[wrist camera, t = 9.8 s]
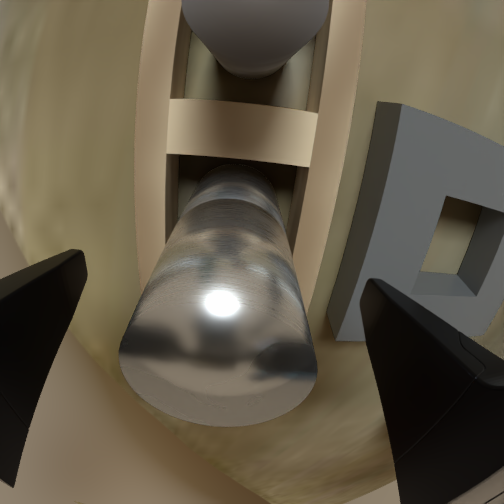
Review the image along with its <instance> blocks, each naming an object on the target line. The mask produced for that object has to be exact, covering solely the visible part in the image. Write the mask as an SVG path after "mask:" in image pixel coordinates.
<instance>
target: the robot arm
mask: <svg viewBox="0 0 504 504" xmlns="http://www.w3.org/2000/svg"><path fill="white" fill-rule="evenodd" d="M87 276H88V274H87V267H86V261H85V256H84V253H83V251H82V250H77V249H70V250H68V251H65V252H63V253H60V254H58V255H55V256H53V257H50V258H48V259H46V260H43V261H41V262H38V263H36V264H34V265H31V266H29V267H27V268H25V269H22V270H20V271H18V272H15V273H13V274H11V275H9V276H7V277H5V278H2V279H0V481H2V482H3V483H5V484H7V485H8V486H10V487H12V488H14V485H15V481H16V476H17V472H18V468H19V464H20V460H21V456H22V452H23V448H24V445H25V441H26V438H27V434H28V431H29V429H28V428H29V427H30V424H31V421H32V418H33V415H34V412H35V409H36V406H37V403H38V400H39V397H40V395H41V392H42V389H43V386H44V384H45V381H46V378H47V376H48V373H49V371H50V368H51V366H52V363H53V361H54V358H55V356H56V354H57V351H58V349H59V346H60V344H61V342H62V340H63V338H64V335H65V333H66V331H67V329H68V327H69V325H70V322H71V320H72V318H73V315H74V313H75V310H76V307H77V305H78V302H79V299H80V296H81V294H82V291H83V288H84V286H85V283H86V281H87ZM359 306H360V312H361V317H362V323H363V329H364V334H365V340H366V345H367V349H368V353H369V357H370V360H371V364H372V368H373V371H374V375H375V379H376V383H377V387H378V391H379V395H380V399H381V403H382V408H383V412H384V416H385V421H386V425H387V430H388V435H389V439H390V444H391V449H392V454H393V460H394V463H395V464H394V466H395V472H396V477H397V483H398V490H399V496H400V502H401V504H504V360H503V359H501V358H500V357H498V356H496V355H495V354H493V353H492V352H490V351H488V350H487V349H485V348H484V347H482V346H481V345H479V344H478V343H476V342H475V341H473V340H472V339H470V338H469V337H467V336H466V335H464V334H463V333H462V332H460V331H458V330H457V329H456V328H454V327H453V326H451V325H450V324H448V323H447V322H446V321H444V320H443V319H441V318H440V317H438V316H437V315H435V314H434V313H432V312H431V311H429V310H428V309H426V308H425V307H423V306H422V305H420V304H419V303H417V302H416V301H414V300H413V299H411V298H410V297H408V296H407V295H405V294H404V293H402V292H400V291H399V290H397V289H396V288H394V287H393V286H391V285H390V284H388V283H386V282H385V281H383V280H382V279H379V278H369V279H368V280H367V282H366V284H365V287H364V290H363V292H362V295H361V298H360V302H359Z"/></svg>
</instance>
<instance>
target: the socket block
mask: <svg viewBox="0 0 504 504" xmlns="http://www.w3.org/2000/svg"><path fill="white" fill-rule="evenodd" d="M446 196H450V197H454V198H457V199H461V200H464V201H468V202H471V203H475V204H478V205H482V206H483V208H482V211H481V214H480V217H479V220H478V223H477V226H476V229H475V231H474V234H473V237H472V239H471V242H470V245H469V247H468V250H467V252H466V255H465V257H464V260H463V262H462V265H461V267H460V269H459V272H458V274H457V275H454V274H443V273H432V272H420V269H421V267H422V264H423V262H424V259H425V256H426V254H427V251H428V248H429V246H430V243H431V240H432V237H433V234H434V231H435V229H436V226H437V223H438V219H439V216H440V213H441V210H442V207H443V203H444V200H445V197H446ZM369 278H379V279H382V280H383V281H385V282H386V283H388V284H390V285H391V286H393V287H394V288H396V289H397V290H399V291H400V292H402V293H404V294H405V295H407V296H408V297H410V298H411V299H413V300H414V301H416V302H417V303H419V304H420V305H422V306H423V307H425V308H426V309H428V310H429V311H431V312H432V313H434V314H435V315H437V316H438V317H440V318H441V319H443V320H444V321H446V322H447V323H448V324H450V325H451V326H453V327H454V328H456V329H457V330H458V331H460V332H462V333H463V334H464V335H466V336H467V337H469V336H480V335H484V333H485V332H486V330H487V328H488V327H489V325H490V323H491V322H492V320H493V318H494V316H495V315H496V313H497V311H498V309H499V308H500V306H501V304H502V302H503V300H504V146H502V145H500V144H498V143H496V142H494V141H492V140H490V139H488V138H486V137H484V136H482V135H479V134H477V133H475V132H473V131H471V130H469V129H466V128H464V127H462V126H459V125H457V124H455V123H452V122H450V121H447V120H445V119H442V118H440V117H437V116H435V115H432V114H429V113H427V112H424V111H421V110H418V109H416V108H413V107H410V106H407V105H404V104H398V103H389V102H379V101H378V103H377V109H376V115H375V121H374V126H373V132H372V137H371V142H370V147H369V152H368V157H367V162H366V167H365V172H364V176H363V181H362V185H361V189H360V194H359V198H358V202H357V206H356V210H355V214H354V218H353V222H352V226H351V230H350V234H349V237H348V241H347V245H346V248H345V252H344V256H343V259H342V263H341V266H340V269H339V273H338V276H337V279H336V283H335V286H334V289H333V293H332V296H331V299H330V302H329V305H328V308H327V311H326V312H327V315H328V318H329V322H330V325H331V328H332V331H333V335H334V338H335V341H366V340H365V334H364V329H363V323H362V317H361V312H360V306H359V302H360V298H361V295H362V292H363V290H364V287H365V284H366V282H367V280H368V279H369Z"/></svg>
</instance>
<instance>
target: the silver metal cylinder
mask: <svg viewBox="0 0 504 504" xmlns="http://www.w3.org/2000/svg"><path fill="white" fill-rule="evenodd" d="M119 363H120V368H121V370H122V373H123V375H124V377H125V379H126V381H127V382H128V384H129V385H130V386H131V387H132V389H133V390H134V391H135V392H136V393H137V394H138V395H139V396H140V397H141V398H142V399H144V400H145V401H146V402H147V403H149V404H150V405H152V406H153V407H155V408H157V409H158V410H160V411H162V412H164V413H166V414H168V415H171V416H173V417H176V418H178V419H181V420H184V421H188V422H191V423H196V424H201V425H207V426H217V427H238V426H247V425H253V424H258V423H262V422H266V421H269V420H272V419H275V418H277V417H279V416H281V415H284V414H285V413H287V412H289V411H291V410H292V409H294V408H295V407H296V406H298V405H299V404H300V403H301V402H302V401H303V400H304V399H305V398H306V397H307V396H308V394H309V393H310V392H311V390H312V388H313V386H314V384H315V381H316V378H317V361H316V356H315V352H314V347H313V343H312V338H311V334H310V329H309V325H308V321H307V316H306V312H305V308H304V304H303V299H302V295H301V291H300V287H299V283H298V279H297V275H296V271H295V267H294V263H293V259H292V255H291V251H290V247H289V243H288V239H287V235H286V231H285V227H284V224H283V220H282V216H281V212H280V209H279V205H278V201H277V197H276V194H275V191H274V188H273V186H272V184H271V183H270V181H269V180H268V179H267V178H266V177H265V175H263V174H262V173H261V172H260V171H258V170H256V169H255V168H252V167H250V166H247V165H243V164H226V165H222V166H219V167H216V168H214V169H213V170H211V171H209V172H208V173H207V174H206V175H205V176H204V177H203V178H202V179H201V180H200V181H199V183H198V185H197V187H196V188H195V190H194V192H193V194H192V196H191V197H190V199H189V201H188V203H187V205H186V207H185V209H184V210H183V212H182V214H181V216H180V218H179V220H178V222H177V224H176V226H175V228H174V230H173V231H172V233H171V235H170V237H169V239H168V241H167V243H166V245H165V247H164V249H163V251H162V253H161V255H160V257H159V259H158V261H157V263H156V266H155V268H154V270H153V272H152V274H151V276H150V278H149V280H148V282H147V284H146V287H145V289H144V291H143V293H142V295H141V297H140V300H139V302H138V304H137V306H136V309H135V311H134V313H133V315H132V318H131V320H130V322H129V324H128V327H127V329H126V331H125V334H124V336H123V339H122V341H121V344H120V348H119Z"/></svg>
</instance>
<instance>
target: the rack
mask: <svg viewBox="0 0 504 504" xmlns="http://www.w3.org/2000/svg"><path fill="white" fill-rule="evenodd" d="M365 13H366V0H149V3H148V9H147V15H146V21H145V27H144V34H143V42H142V49H141V58H140V67H139V77H138V89H137V103H136V121H135V152H134V188H135V220H136V239H137V254H138V266H139V277H140V287H141V295H142V293H143V291H144V289H145V287H146V284H147V282H148V280H149V278H150V276H151V274H152V272H153V270H154V268H155V266H156V263H157V261H158V259H159V257H160V255H161V253H162V251H163V249H164V247H165V245H166V243H167V241H168V239H169V237H170V235H171V233H172V231H173V230H174V228H175V226H176V224H177V210H178V178H179V156H180V154H186V155H201V156H214V157H226V158H237V159H247V160H256V161H265V162H273V163H281V164H288V165H296V166H297V172H296V178H295V184H294V190H293V196H292V202H291V208H290V213H289V219H288V225H287V230H286V235H287V239H288V243H289V247H290V251H291V255H292V259H293V263H294V267H295V271H296V275H297V279H298V283H299V287H300V291H301V295H302V299H303V304H304V308H305V312H306V316H307V313H308V309H309V306H310V302H311V299H312V295H313V291H314V288H315V284H316V280H317V276H318V273H319V269H320V265H321V261H322V257H323V253H324V249H325V245H326V241H327V237H328V233H329V228H330V224H331V220H332V216H333V211H334V207H335V202H336V198H337V193H338V188H339V184H340V179H341V174H342V169H343V164H344V159H345V153H346V148H347V143H348V137H349V132H350V126H351V120H352V114H353V108H354V102H355V95H356V88H357V81H358V74H359V67H360V59H361V51H362V42H363V33H364V23H365ZM191 31H193V32H194V33H195V34H196V35H197V36H198V38H199V39H200V40H201V41H202V42H203V43H204V45H205V46H206V47H207V48H208V49H209V51H210V52H211V53H212V54H213V55H214V57H215V58H216V59H217V60H218V62H219V63H220V64H221V65H222V67H223V68H224V69H226V70H227V71H228V72H229V73H231V74H233V75H235V76H237V77H241V78H245V79H259V78H264V77H267V76H269V75H271V74H273V73H275V72H276V71H277V70H278V69H280V68H281V67H282V66H283V65H284V64H285V63H286V62H287V61H288V60H289V59H290V58H291V57H292V56H293V55H294V54H295V53H296V52H297V51H299V50H300V49H301V48H302V47H303V46H304V45H305V44H306V43H307V42H308V41H310V40H311V39H312V38H313V37H314V36H315V35H316V41H315V49H314V57H313V64H312V72H311V79H310V86H309V93H308V100H307V107H306V111H304V110H298V109H291V108H285V107H278V106H270V105H262V104H253V103H244V102H233V101H221V100H205V99H184V90H185V80H186V71H187V62H188V54H189V46H190V38H191Z"/></svg>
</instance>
